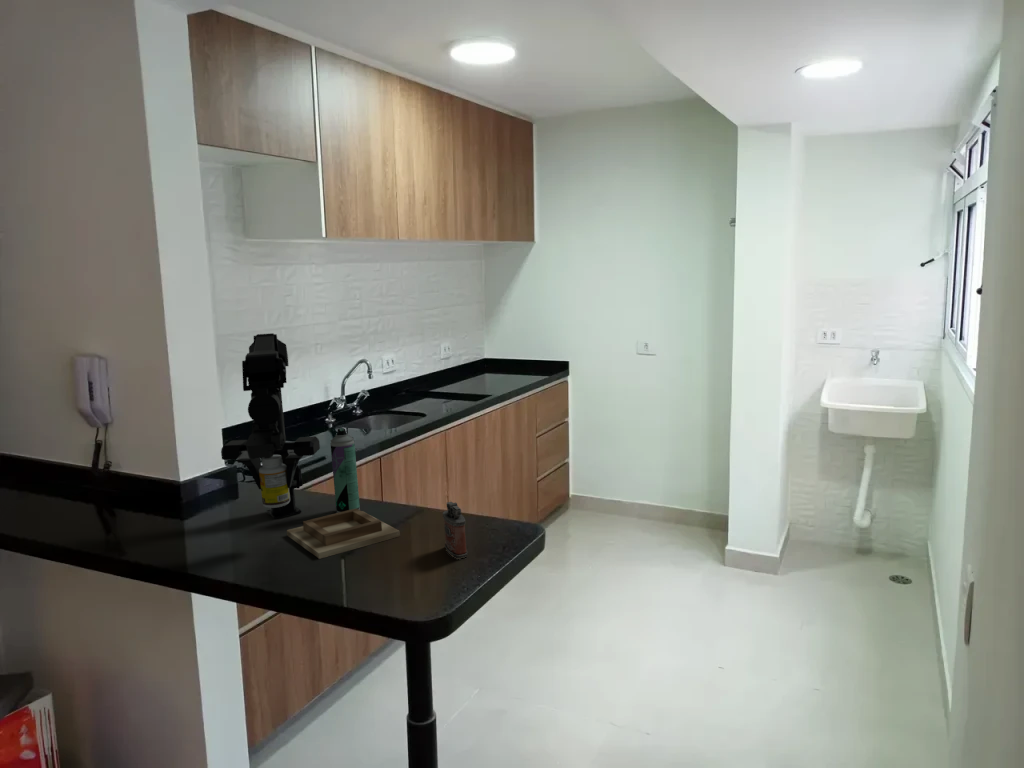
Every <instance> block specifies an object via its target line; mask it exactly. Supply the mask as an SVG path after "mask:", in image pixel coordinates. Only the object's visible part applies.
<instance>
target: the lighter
mask: <svg viewBox="0 0 1024 768" xmlns="http://www.w3.org/2000/svg"><path fill="white" fill-rule="evenodd" d="M446 509H447V510H445V511H443V512H442V518H443V523H444V536H445V537H444V538H445V543H444V549H445V548H446V550H447V552H448V553H450V554H451V555H453V556H454V557H456V558H461V557H465V556H467V555H468V550H467V541H466V540H467V539H466V526H465V525H466V519H465V517H464V515H463V514H462V509H461V508H460V507H459V506H458V503H457V502H452V501H448V502H446ZM446 550H445V551H446ZM447 552H446V553H447ZM448 553H447V554H448Z"/></svg>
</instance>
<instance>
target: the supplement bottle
mask: <svg viewBox="0 0 1024 768" xmlns="http://www.w3.org/2000/svg"><path fill="white" fill-rule="evenodd" d="M261 465H262V466H261V467H260V469H259V476H260V485H261V489H260V492H261V501H262V506H263V507H265V508H267V509H268V508H269V509H271V508H277V507H282V506H285V505H287V504H288V503H289V502H290V493H289V488H288V486H287V466H286V465H285V464H283V462H282V456H281V455H273V456H272V457H271V458H261Z"/></svg>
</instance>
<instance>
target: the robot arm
mask: <svg viewBox="0 0 1024 768" xmlns="http://www.w3.org/2000/svg"><path fill="white" fill-rule="evenodd" d="M287 348H288V347H287V343H284V342H283V341H282V340H280V339H279V338H278V335H277V334H275V333H258V334H256V335H253V342H252V343H251V344H250V345H249V346H248V353H246V354H245V358H244V359H245V360H242V361H241V366H242V367H241V368H242V370H241V372H242V390H243V392H247V391H248V392H249V391H251V393H250V401H249V403H248V407H247V412H248V416H249V417H250V419H251V420H252V423H251V433H250V434H249V436H248V439H238V440H236V439H234V440H230V441H228V442H227V443H226V444H224V445H223V446H222V447H221V450H220V453H221V460H224V461H226V460H228V461H229V460H236V462H237V463H238V464H239V463H240V464H242V465H244V466H245V467H246V468H247V469H248V471H249V472H250V474H251V477H252V479H253V480H254V482H255V484H256V485H257V488H258V489H259V490H261V485H260V476H259V469H260V467H262V466H261V465H262V461H261V459H262V458H271V457H272V456H273V455H281V456H282V462H283V464H285V465H286V466H287V486H288V488H289V493H290V502H289V503H288V504H287V505H285V506H282V507H277V508H269V509H266V514H268V515H269V516H271V517H272V518H273V519H280V518H285V517H287V516H292V515H296V514H301V513H302V509H300V508H299V507H297V505H296V503H297V502H296V494H295V489H300V487H303V477H302V469H301V468H300V467H299V465H298V464H299V461H300V460H301V459H302V458H303V457H306V456H313V455H316V453H317V452H319V450H320V449H321V445H320V440H319V438H318V437H317V436H300V437H298V438H297V439H296V440H295V441H290V442H289V441H287V436H286V431H285V416H284V407H283V397H282V396H283V395H282V389H284V388H285V387H284V385H285V384H287V367H289V355H288V349H287Z"/></svg>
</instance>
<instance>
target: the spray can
mask: <svg viewBox="0 0 1024 768" xmlns="http://www.w3.org/2000/svg"><path fill="white" fill-rule="evenodd" d="M330 453H331V455H330V456H331V465H332V475H333V476H332V477H333V486H334V498H335V499H334V500H335V510H336V513H339V512H343V511H347V510H351V509H358V510H360V511H361V509H360V508H361V506H360V505H361V504H360V494H359V493H360V491H359V482H358V470H357V468H358V467H357V459H356V446H355V440H354V437H353V436H350V435H349V433H347V431H346V429H345V428H343V427H342V428H337V432H336V434H335V436H334V437H333V438H331V439H330Z"/></svg>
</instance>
